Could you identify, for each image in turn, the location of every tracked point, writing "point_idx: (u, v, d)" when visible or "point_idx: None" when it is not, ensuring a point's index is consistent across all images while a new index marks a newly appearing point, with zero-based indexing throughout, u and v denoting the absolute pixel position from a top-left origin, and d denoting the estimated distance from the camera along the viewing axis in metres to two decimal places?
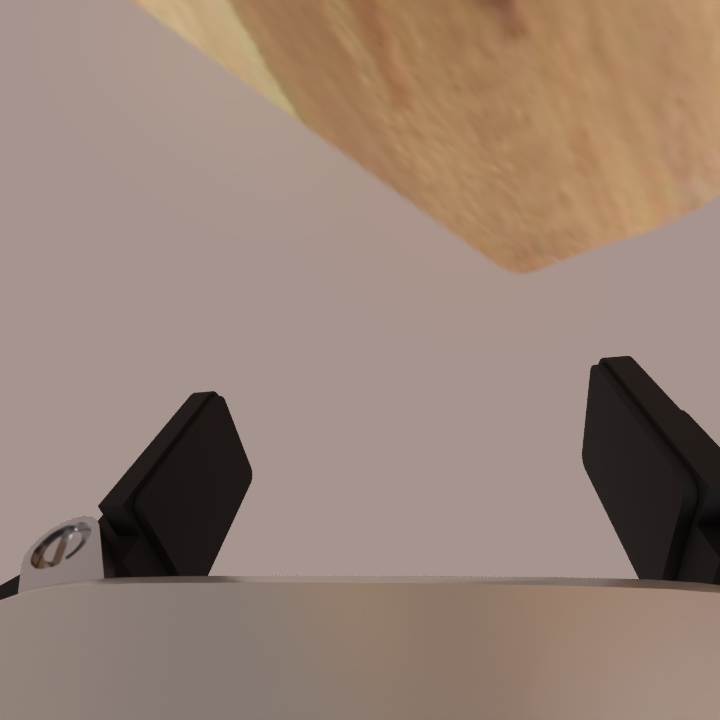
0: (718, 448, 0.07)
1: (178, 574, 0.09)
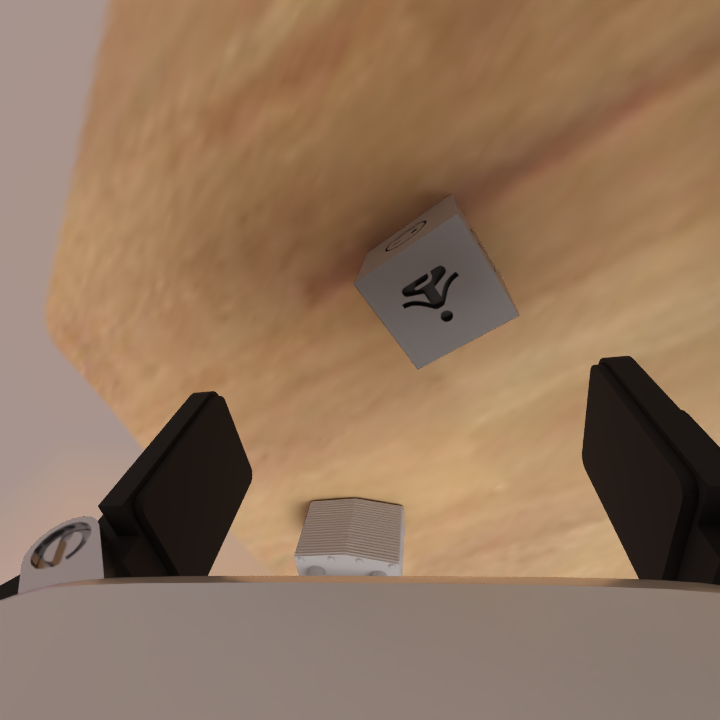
0: (718, 448, 0.07)
1: (178, 574, 0.09)
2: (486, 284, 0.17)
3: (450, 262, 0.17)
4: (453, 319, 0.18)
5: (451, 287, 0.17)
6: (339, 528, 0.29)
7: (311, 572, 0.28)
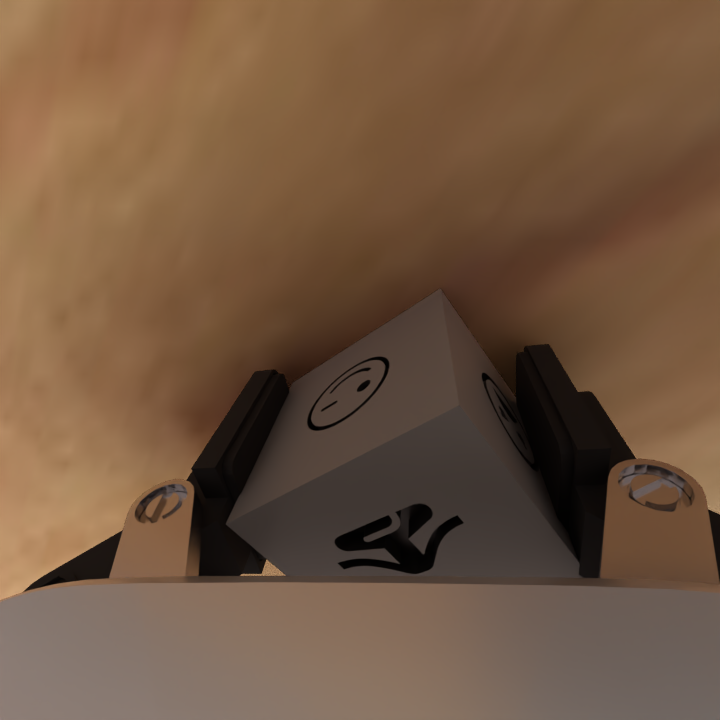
0: (610, 423, 0.08)
1: None
2: (529, 541, 0.07)
3: (443, 499, 0.07)
4: None
5: (447, 541, 0.07)
6: None
7: None
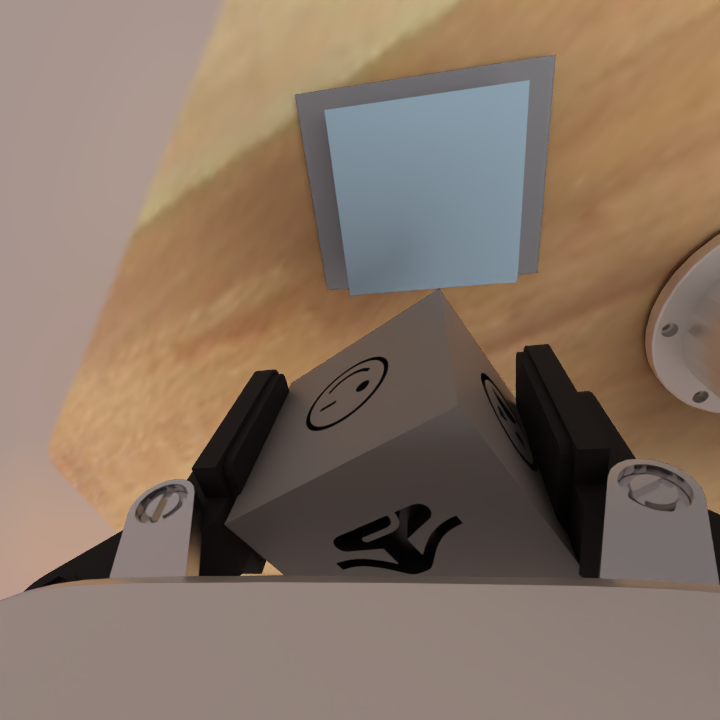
0: (610, 423, 0.08)
1: None
2: (528, 541, 0.07)
3: (442, 499, 0.07)
4: None
5: (445, 541, 0.07)
6: None
7: None
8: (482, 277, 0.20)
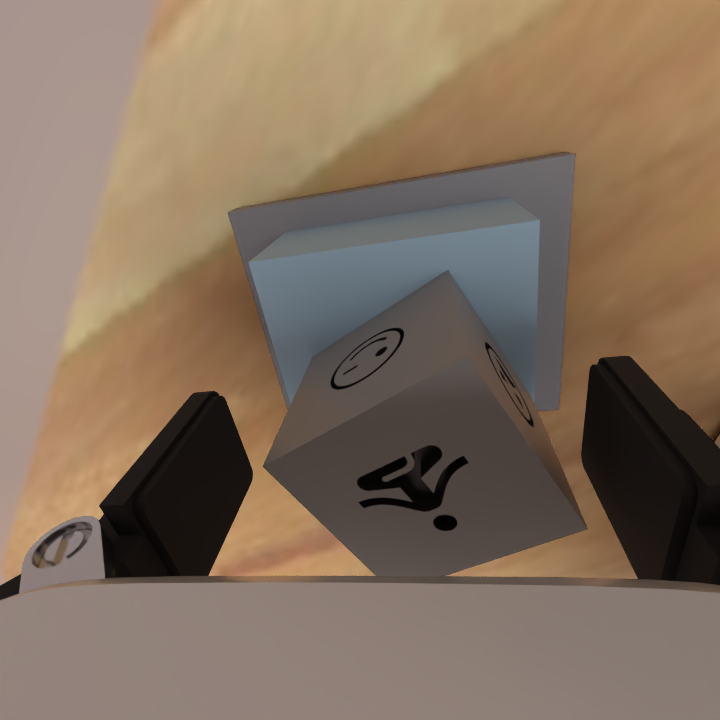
0: (716, 448, 0.07)
1: (179, 574, 0.09)
2: (524, 479, 0.08)
3: (451, 441, 0.08)
4: (458, 528, 0.09)
5: (454, 479, 0.09)
6: None
7: None
8: None
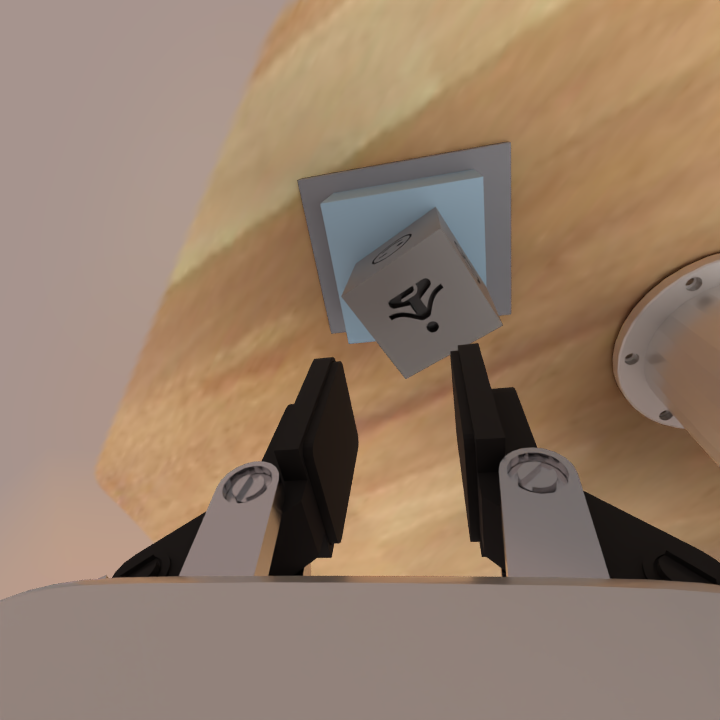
0: (524, 416, 0.09)
1: (330, 520, 0.09)
2: (470, 295, 0.18)
3: (435, 275, 0.17)
4: (439, 330, 0.18)
5: (436, 298, 0.18)
6: None
7: None
8: None
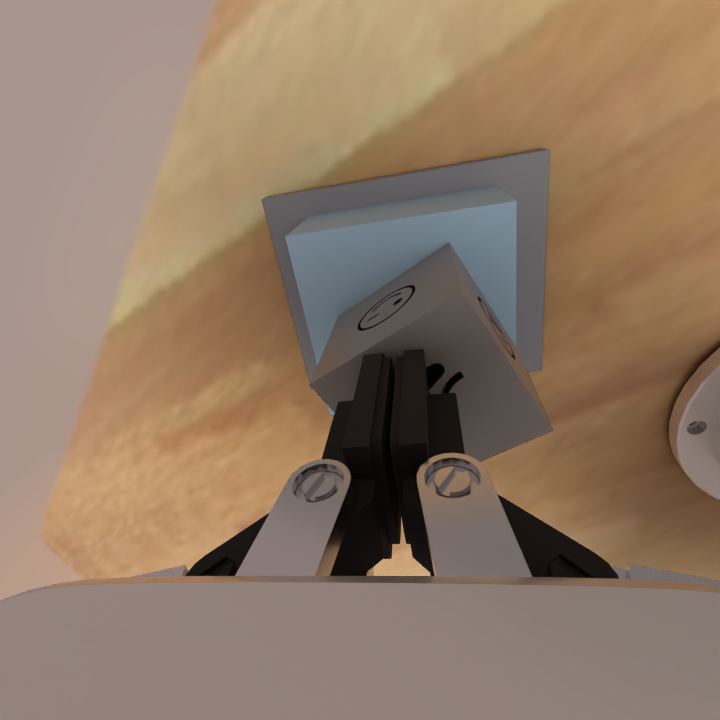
0: (459, 421, 0.09)
1: (392, 520, 0.09)
2: (505, 389, 0.11)
3: (451, 359, 0.11)
4: None
5: (453, 392, 0.12)
6: None
7: None
8: None
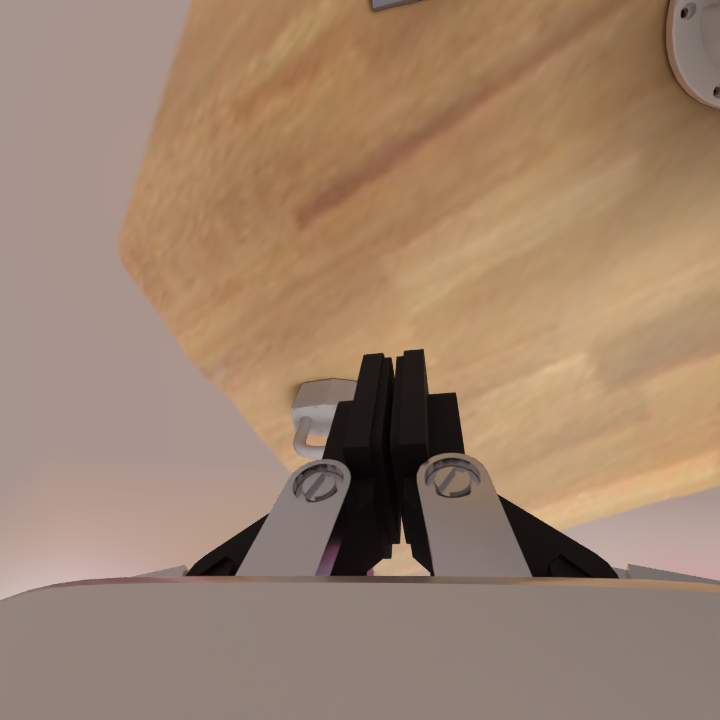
0: (459, 421, 0.09)
1: (392, 520, 0.09)
2: None
3: None
4: None
5: None
6: (322, 393, 0.42)
7: (302, 419, 0.41)
8: None
